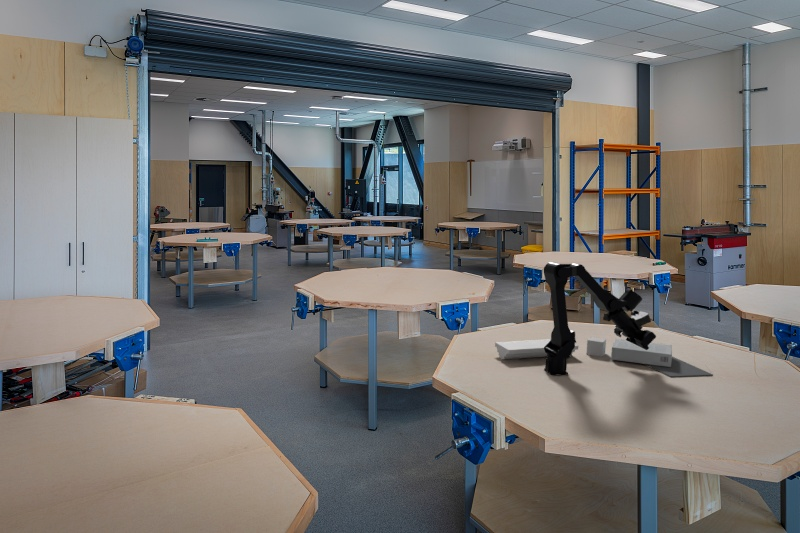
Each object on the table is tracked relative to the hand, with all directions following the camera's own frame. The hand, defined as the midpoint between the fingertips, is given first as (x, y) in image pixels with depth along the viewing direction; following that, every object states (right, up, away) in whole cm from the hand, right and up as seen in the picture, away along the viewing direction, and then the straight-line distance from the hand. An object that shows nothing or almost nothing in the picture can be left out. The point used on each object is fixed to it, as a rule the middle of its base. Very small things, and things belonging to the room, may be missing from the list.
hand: (647, 349), depth 211 cm
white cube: (-13, -5, +17) cm, 22 cm away
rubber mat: (+9, -7, +3) cm, 12 cm away
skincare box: (-2, -4, +2) cm, 5 cm away
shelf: (-39, -5, +11) cm, 41 cm away
